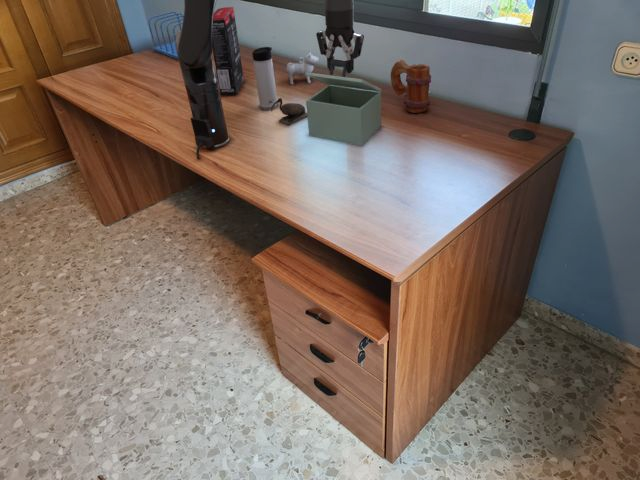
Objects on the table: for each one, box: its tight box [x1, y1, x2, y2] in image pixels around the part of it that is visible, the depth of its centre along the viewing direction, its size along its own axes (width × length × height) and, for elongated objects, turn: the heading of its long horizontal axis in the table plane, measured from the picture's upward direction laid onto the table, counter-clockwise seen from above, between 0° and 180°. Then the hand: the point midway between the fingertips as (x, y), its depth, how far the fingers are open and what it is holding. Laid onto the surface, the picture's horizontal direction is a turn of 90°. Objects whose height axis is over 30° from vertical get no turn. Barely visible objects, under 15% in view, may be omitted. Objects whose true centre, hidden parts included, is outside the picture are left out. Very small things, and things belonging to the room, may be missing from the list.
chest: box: [305, 84, 382, 147], centre depth 145 cm, size 14×18×11 cm
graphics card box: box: [212, 6, 245, 96], centre depth 176 cm, size 17×7×27 cm, turn 178°
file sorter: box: [147, 11, 184, 61], centre depth 224 cm, size 25×17×15 cm
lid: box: [306, 58, 382, 93], centre depth 138 cm, size 15×18×6 cm
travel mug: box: [251, 46, 279, 111], centre depth 161 cm, size 6×7×20 cm
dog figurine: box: [285, 51, 320, 85], centre depth 182 cm, size 5×13×11 cm, turn 95°
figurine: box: [270, 97, 308, 127], centre depth 154 cm, size 14×4×9 cm, turn 134°
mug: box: [390, 59, 432, 114], centre depth 154 cm, size 15×8×15 cm, turn 47°
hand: (340, 71), depth 135 cm, fingers closed on lid, 5 cm apart
